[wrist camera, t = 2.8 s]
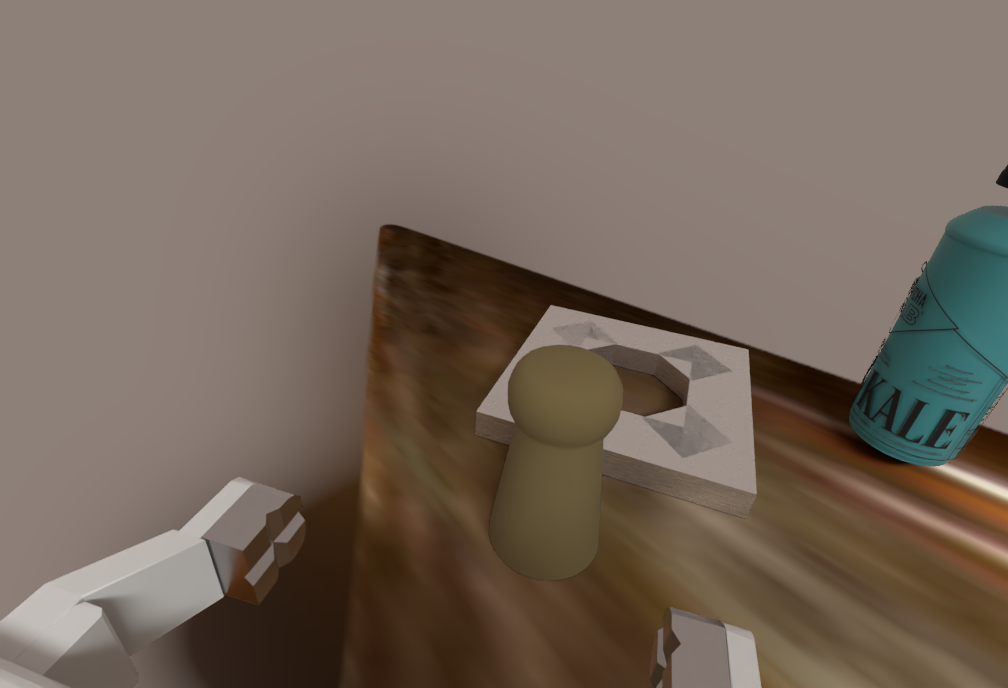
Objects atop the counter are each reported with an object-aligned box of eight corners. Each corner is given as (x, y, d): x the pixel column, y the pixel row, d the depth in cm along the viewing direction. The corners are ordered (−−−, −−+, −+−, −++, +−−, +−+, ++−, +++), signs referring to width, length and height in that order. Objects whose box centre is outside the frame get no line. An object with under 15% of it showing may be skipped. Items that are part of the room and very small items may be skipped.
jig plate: (741, 369, 43) (748, 349, 42) (745, 518, 30) (756, 494, 29) (548, 324, 48) (550, 305, 47) (475, 434, 34) (476, 411, 33)
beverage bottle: (916, 429, 38) (1096, 142, 27) (967, 497, 32) (1216, 168, 22) (822, 414, 39) (961, 130, 28) (855, 477, 33) (1043, 152, 23)
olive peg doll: (481, 492, 30) (491, 329, 24) (580, 484, 31) (611, 326, 25) (497, 587, 25) (513, 409, 19) (615, 573, 26) (663, 401, 20)
